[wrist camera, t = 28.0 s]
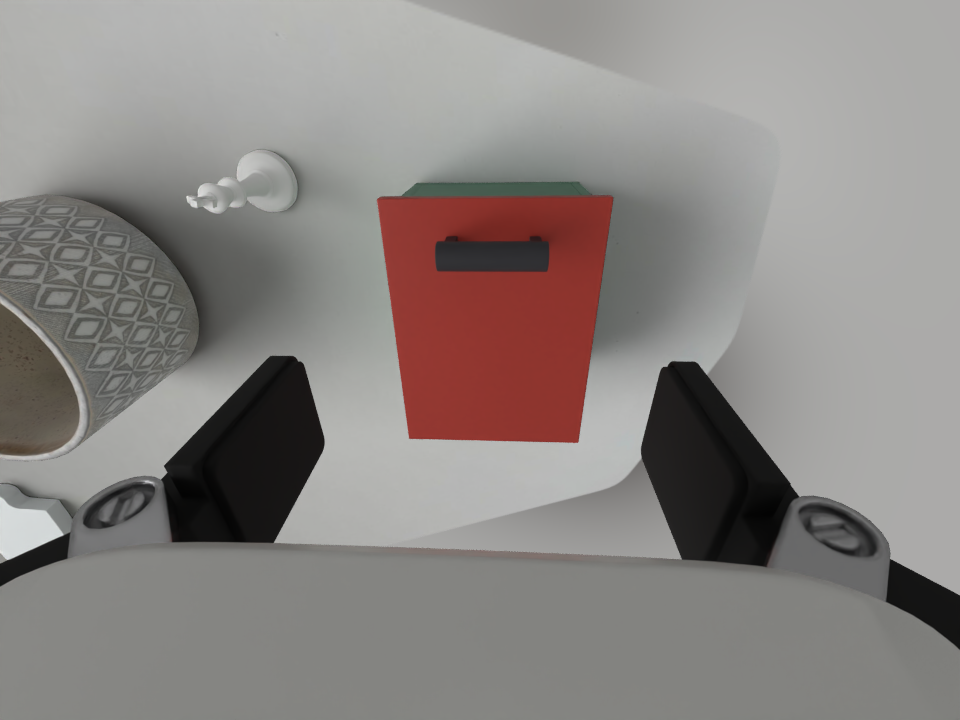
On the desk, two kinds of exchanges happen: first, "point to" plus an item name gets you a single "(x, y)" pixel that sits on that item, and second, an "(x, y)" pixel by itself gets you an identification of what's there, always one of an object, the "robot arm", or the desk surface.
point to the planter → (81, 322)
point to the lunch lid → (494, 311)
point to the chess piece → (251, 186)
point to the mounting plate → (29, 521)
